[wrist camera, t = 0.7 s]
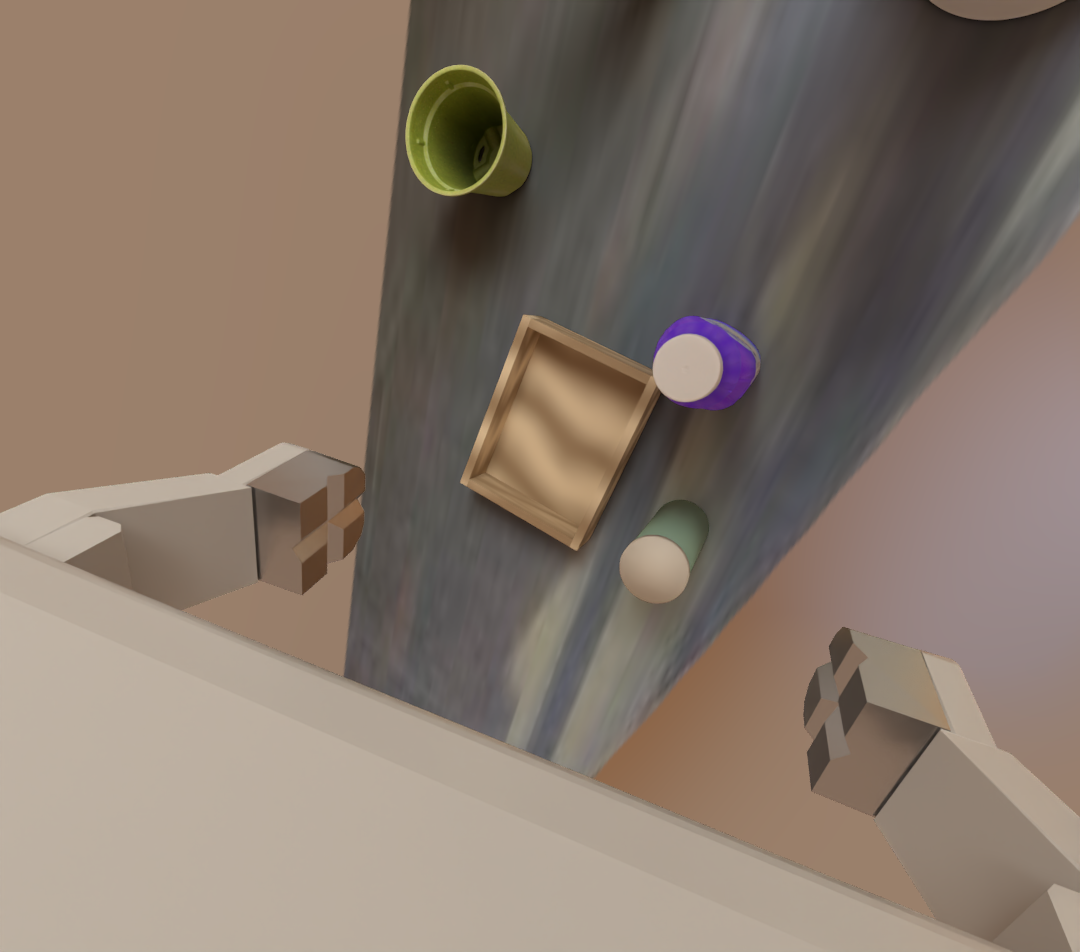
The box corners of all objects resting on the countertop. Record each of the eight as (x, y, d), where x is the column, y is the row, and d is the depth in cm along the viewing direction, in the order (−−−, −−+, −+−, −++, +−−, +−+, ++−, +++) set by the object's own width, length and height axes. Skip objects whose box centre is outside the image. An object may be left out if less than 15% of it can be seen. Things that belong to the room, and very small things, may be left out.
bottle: (776, 354, 49) (766, 360, 34) (733, 410, 51) (705, 440, 36) (703, 307, 51) (661, 292, 35) (665, 363, 53) (609, 373, 37)
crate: (540, 316, 57) (523, 314, 53) (668, 377, 53) (659, 380, 49) (479, 474, 63) (460, 482, 59) (590, 538, 59) (576, 551, 56)
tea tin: (668, 488, 55) (637, 525, 44) (720, 516, 54) (700, 560, 43) (644, 534, 57) (608, 580, 46) (693, 562, 56) (668, 616, 45)
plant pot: (448, 201, 58) (393, 179, 50) (473, 94, 55) (419, 53, 47) (531, 227, 55) (487, 209, 47) (562, 117, 52) (521, 77, 44)
